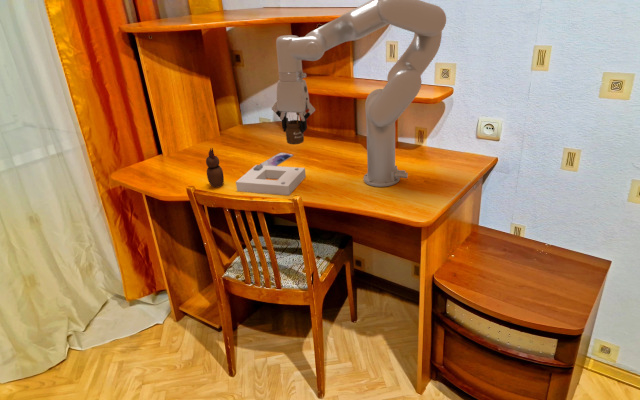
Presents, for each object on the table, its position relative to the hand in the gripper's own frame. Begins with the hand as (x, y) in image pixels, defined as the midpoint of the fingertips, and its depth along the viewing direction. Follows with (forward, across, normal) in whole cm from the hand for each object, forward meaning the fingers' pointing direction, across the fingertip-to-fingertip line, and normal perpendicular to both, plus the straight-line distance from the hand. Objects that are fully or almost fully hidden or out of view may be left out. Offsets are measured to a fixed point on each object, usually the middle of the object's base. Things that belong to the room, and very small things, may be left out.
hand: (294, 130), depth 153 cm
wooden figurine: (+21, +30, +6) cm, 37 cm away
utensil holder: (+4, 0, 0) cm, 4 cm away
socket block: (+20, +10, +1) cm, 23 cm away
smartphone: (+21, +18, -21) cm, 35 cm away
